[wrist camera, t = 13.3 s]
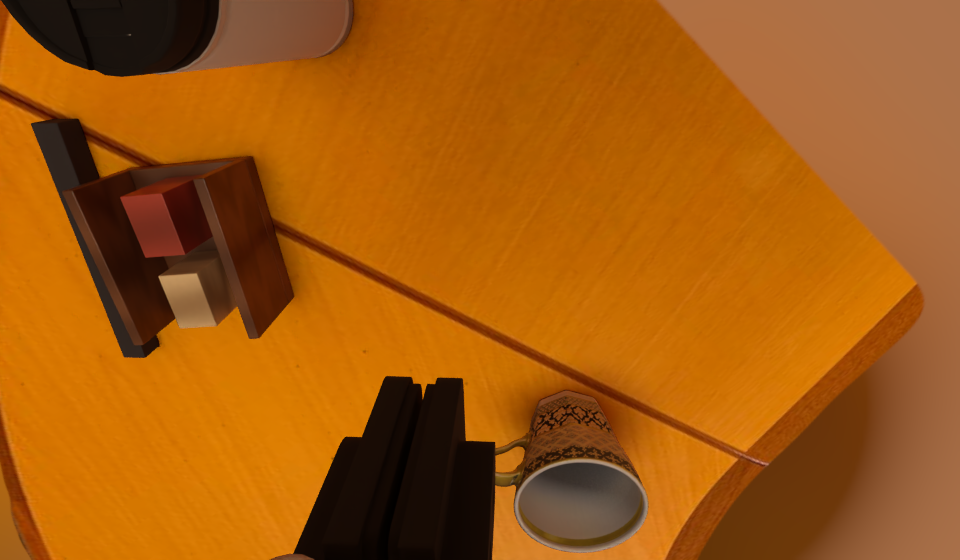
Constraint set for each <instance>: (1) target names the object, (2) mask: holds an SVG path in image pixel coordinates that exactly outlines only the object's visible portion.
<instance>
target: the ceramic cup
mask: <svg viewBox="0 0 960 560" xmlns="http://www.w3.org/2000/svg"><path fill="white" fill-rule="evenodd" d="M517 446H520V447H523V448H524V450H525V454H524V458H523V461H522V463H521V464H520V465H518V466H517V468H516V469H515V470H514V471H512V472H506V473H499V472H495V485H497V486H501V487H507V486H511V485H515V486H516V493H515V499H514V512H515V516H516V519H517V521H518V523H519V525H520V526H521V528H522V529H523V530H524V531H525V532H526V533H527V534H528V535H529V536H530V537H531V538H533V539H534V540H536V541H537V542H539V543H541V544H543V545H545V546H548V547H550V548H553V549H557V550H561V551H566V552H576V553H586V552H596V551H601V550H605V549H608V548H611V547H614V546H616V545H618V544H621V543H622V542H624V541H626V540H627V539H629V538H630V537H631V536H633V535H634V534H635V533H636V532H637V531H638V530H639V529H640V527H641V526H642V524H643V523H644V521H645V519H646V516H647V512H648V498H647V494H646V491H645V489H644V487H643V485H642V482H641V480H640V478H639V476H638V474H637V472H636V470H635V468H634V467H633V465H632V463H631V461H630V459H629V458H628V456H627V455H626V453H625V452H624V450H623V449H622V447H621V446H620V444H619V442H618V440H617V438H616V436H615V435H614V433H613V430H612V428H611V426H610V424H609V422H608V420H607V418H606V416H605V415H604V413H603V411H602V410H601V408H600V406H599V404H598V403H597V401H596V399H595V398H593V397H590V396H586V395H583V394H579V393H575V392H571V391H567V390H565V391H562V392H560V393H557V394H555V395H552V396H550V397H547V398H545V399H542V400H540V401H539V403H538V406H537V408H536V411H535V413H534V415H533V418H532V421H531V426H530V430H529V433H526V435H525V436H524V437H522V438H521V439H518V440H515V441H513V442H511V443H509V444H508V445H505V446H503V447H499V448H496V449H495V455H499V454H502V453H505V452H507V451H509V450H511V449H512V448H514V447H517Z"/></svg>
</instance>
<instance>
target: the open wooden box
mask: <svg viewBox="0 0 960 560" xmlns="http://www.w3.org/2000/svg"><path fill="white" fill-rule="evenodd" d="M62 193H63V195H64V197H65V199H66V202H67V204H68V206H69V208H70V210H71V212H72V214H73V216H74V219H75V221H76V223H77V225H78V227H79V229H80V231H81V233H82V235H83V238H84V240H85V242H86V244H87V246H88V248H89V250H90V252H91V255H92V257H93V259H94V261H95V263H96V265H97V267H98V269H99V272H100V274H101V276H102V278H103V280H104V282H105V284H106V286H107V288H108V291H109V293H110V295H111V297H112V299H113V301H114V303H115V305H116V308H117V310H118V312H119V314H120V316H121V318H122V320H123V322H124V324H125V327H126V329H127V331H128V333H129V335H130V337H131V339H132V341H133V344H134V345H144V344H145V343H146V342H148V341H149V340H150V339H151V338H152V337H154V336H155V335H156V334H157V333H158V332H160V331H161V330H162V329H163V328H164V327H166V326H167V325H168V324H169V323H170V322H172V321H173V320H174V319H175V318H176V320H177V323H178V325H179V327H180V328H193V327H209V326H217V325H218V324H219V323H220V322H221V321H222V320H223V319H224V318H225V317H226V316H227V315H229V314H230V313H231V312H232V311H233V310H234V309H235V308H236V307H237V306H238V308H239V311H240V314H241V317H242V320H243V323H244V325H245V328H246V331H247V334H248V337H249V339H256V338H260V337H261V335H262V334H263V333H264V332H265V331H266V329H267V328H268V327H269V326H270V325H271V324H272V322H273V321H274V320H275V319H276V318H277V317H278V315H279V314H280V313H281V312H282V311H283V309H284V308H285V307H286V306H287V305H288V303H289V302H290V301H291V300H292V299H293V298H294V295H293V291H292V288H291V285H290V281H289V278H288V274H287V271H286V268H285V264H284V261H283V258H282V254H281V251H280V247H279V244H278V241H277V237H276V234H275V231H274V227H273V224H272V221H271V217H270V214H269V210H268V207H267V204H266V200H265V197H264V194H263V190H262V187H261V183H260V180H259V177H258V173H257V170H256V167H255V163H254V160H253V157H252V156H247V157H237V158H227V159H216V160H206V161H196V162H185V163H175V164H165V165H154V166H144V167H134V168H129V169H126V170H123V171H120V172H117V173H114V174H111V175H108V176H105V177H102V178H99V179H96V180H94V181H91V182H88V183H85V184H82V185H79V186H76V187H73V188H70V189H67V190H64V191H62Z"/></svg>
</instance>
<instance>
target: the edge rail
mask: <svg viewBox="0 0 960 560" xmlns="http://www.w3.org/2000/svg"><path fill="white" fill-rule="evenodd" d="M31 126H32V128H33V131H34V133H35V136H36V138H37V141H38V143H39V146H40V148H41V151H42V153H43V156H44V158H45V161H46V163H47V166H48V168H49V171H50V173H51V176H52V178H53V181H54V183H55V186H56V188H57V191H58V193H59V196H60V198H61V201H62V203H63V206H64V208H65V211H66V213H67V216H68V218H69V221H70V223H71V226H72V228H73V231H74V233H75V236H76V238H77V241H78V243H79V246H80V248H81V251H82V253H83V256H84V258H85V261H86V263H87V266H88V268H89V271H90V273H91V276H92V278H93V281H94V283H95V286H96V288H97V291H98V293H99V296H100V298H101V301H102V303H103V306H104V308H105V311H106V313H107V316H108V318H109V321H110V323H111V326H112V328H113V331H114V333H115V336H116V338H117V341H118V343H119V346H120V348H121V351H122V353H123V356H124V357H133V358H145V357H147V356H148V355H149V354H150V353H151V352H152V351H154V350H155V349H156V348H157V347H158V346H159V343H158V340H157V337H156V335H155V336H154V337H152V338H151V339H150V340H149V341H148V342H146V343H145V344H144V345H134V344H133V341H132V339H131V337H130V335H129V333H128V331H127V329H126V327H125V324H124V322H123V320H122V318H121V316H120V314H119V312H118V310H117V308H116V305H115V303H114V301H113V299H112V297H111V295H110V293H109V291H108V288H107V286H106V284H105V282H104V280H103V278H102V276H101V274H100V272H99V269H98V267H97V265H96V263H95V261H94V259H93V257H92V255H91V252H90V250H89V248H88V246H87V244H86V242H85V240H84V238H83V235H82V233H81V231H80V229H79V227H78V225H77V223H76V221H75V219H74V216H73V214H72V212H71V210H70V208H69V206H68V204H67V202H66V199H65V197H64V195H63V193H62V191H64V190H67V189H70V188H73V187H76V186H79V185H82V184H85V183H88V182H91V181H94V180H96V179H99V176H98V173H97V170H96V167H95V164H94V162H93V159H92V156H91V153H90V151H89V148H88V145H87V142H86V139H85V137H84V134H83V131H82V128H81V125H80V123H79V120H78V119H52V120H46V121H41V122H35V123H31Z"/></svg>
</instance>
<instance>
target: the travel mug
mask: <svg viewBox="0 0 960 560" xmlns="http://www.w3.org/2000/svg"><path fill="white" fill-rule="evenodd" d="M1 1H2V2H3V4H4V5H5V6H6V8H7V9H8V11H9V12H10V13H11V15H12V16H13V17H14V18H15V20H16V21H17V22H18V23H19V24H20V25H21V26H22V27H23V28H24V29H25V31H26V32H27V33H28V34H29V35H30V36H31V37H33V38H34V39H35V40H36V41H37V42H38V43H40V44H41V45H42V46H43V47H44V48H45V49H47V50H48V51H49V52H51V53H52V54H54V55H56V56H57V57H59V58H60V59H62V60H63V61H65V62H67V63H70V64H73V65H76V66H79V67H82V68H85V69H88V70H96V71H98V72H100V73H102V74H104V75H110V76H120V77H124V76H135V75H145V74H169V73H178V72H188V71H197V70H206V69H215V68H224V67H233V66H242V65H252V64H261V63H270V62H279V61H288V60H297V59H306V58H315V57H322V56H325V55H328V54H330V53H332V52H333V51H335V50H336V49H338V48H339V47H340V46H341V45H342V43H343V42H344V41H345V39H346V37H347V36H348V34H349V31H350V28H351V26H352V19H353V2H352V0H1Z"/></svg>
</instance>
